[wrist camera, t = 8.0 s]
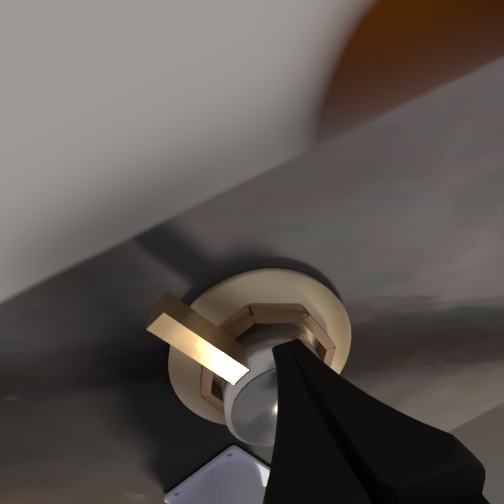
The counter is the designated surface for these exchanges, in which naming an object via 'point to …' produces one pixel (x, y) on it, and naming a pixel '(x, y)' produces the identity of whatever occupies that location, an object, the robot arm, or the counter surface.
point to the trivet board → (259, 292)
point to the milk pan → (231, 363)
